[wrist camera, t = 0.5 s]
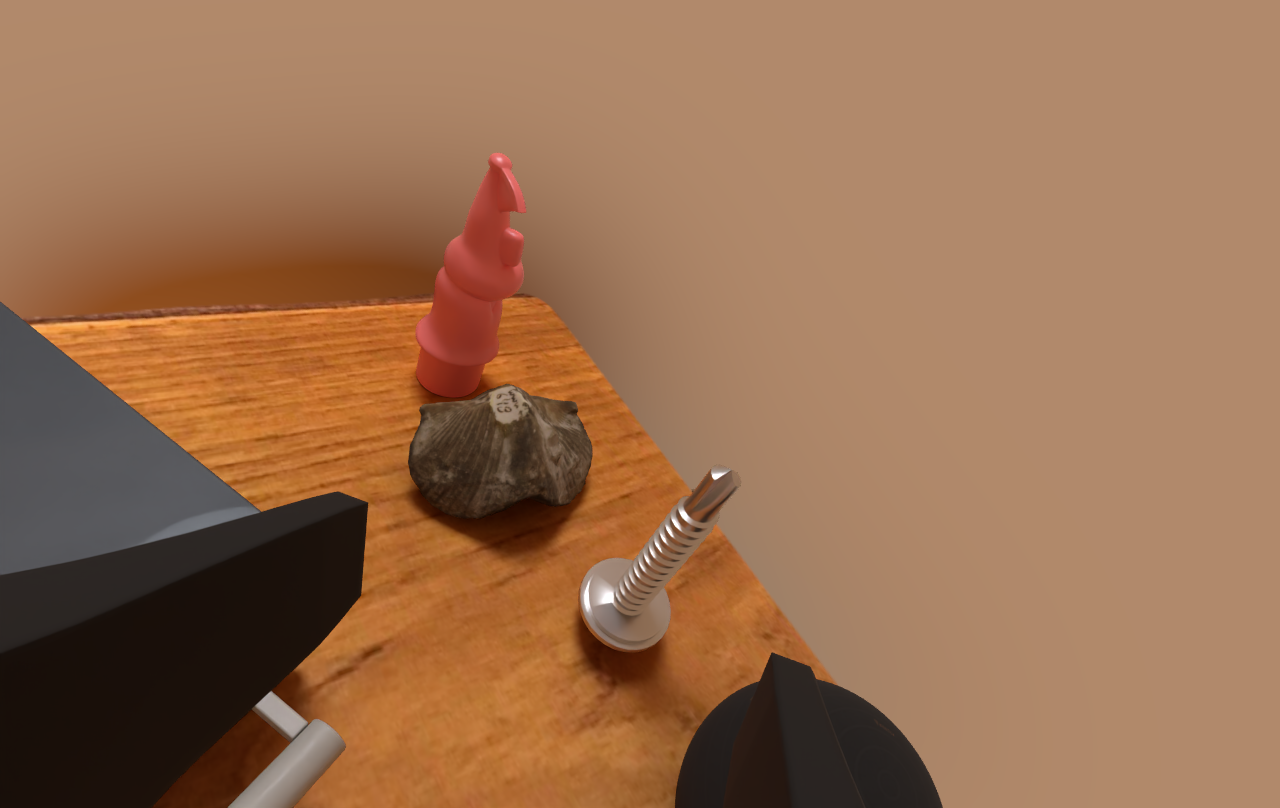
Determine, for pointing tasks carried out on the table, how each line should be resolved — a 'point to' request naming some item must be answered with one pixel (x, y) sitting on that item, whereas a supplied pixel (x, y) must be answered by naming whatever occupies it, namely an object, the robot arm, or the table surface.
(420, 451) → the fossilized seashell
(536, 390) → the table surface
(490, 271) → the figurine
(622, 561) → the screw
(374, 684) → the table surface
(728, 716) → the speaker
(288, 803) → the drawer
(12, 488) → the cabinet
